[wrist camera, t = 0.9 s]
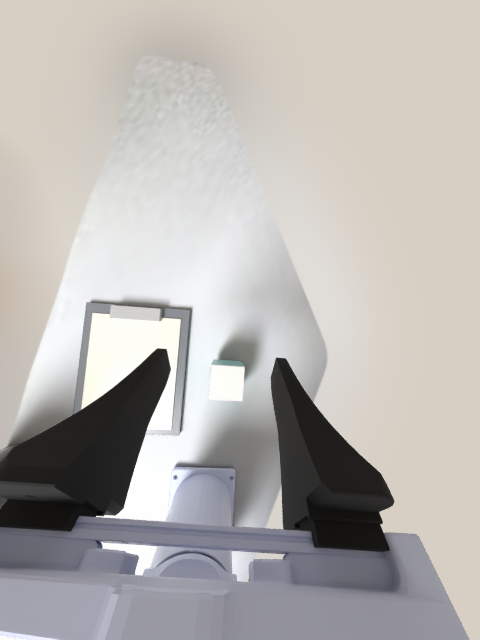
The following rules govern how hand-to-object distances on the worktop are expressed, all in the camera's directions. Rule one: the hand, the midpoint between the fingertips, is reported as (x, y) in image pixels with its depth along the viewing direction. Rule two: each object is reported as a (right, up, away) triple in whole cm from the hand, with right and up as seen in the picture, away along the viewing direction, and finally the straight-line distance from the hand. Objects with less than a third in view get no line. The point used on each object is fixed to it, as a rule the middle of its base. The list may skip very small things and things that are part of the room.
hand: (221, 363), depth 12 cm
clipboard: (-12, -3, +12) cm, 17 cm away
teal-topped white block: (0, -4, +12) cm, 13 cm away
